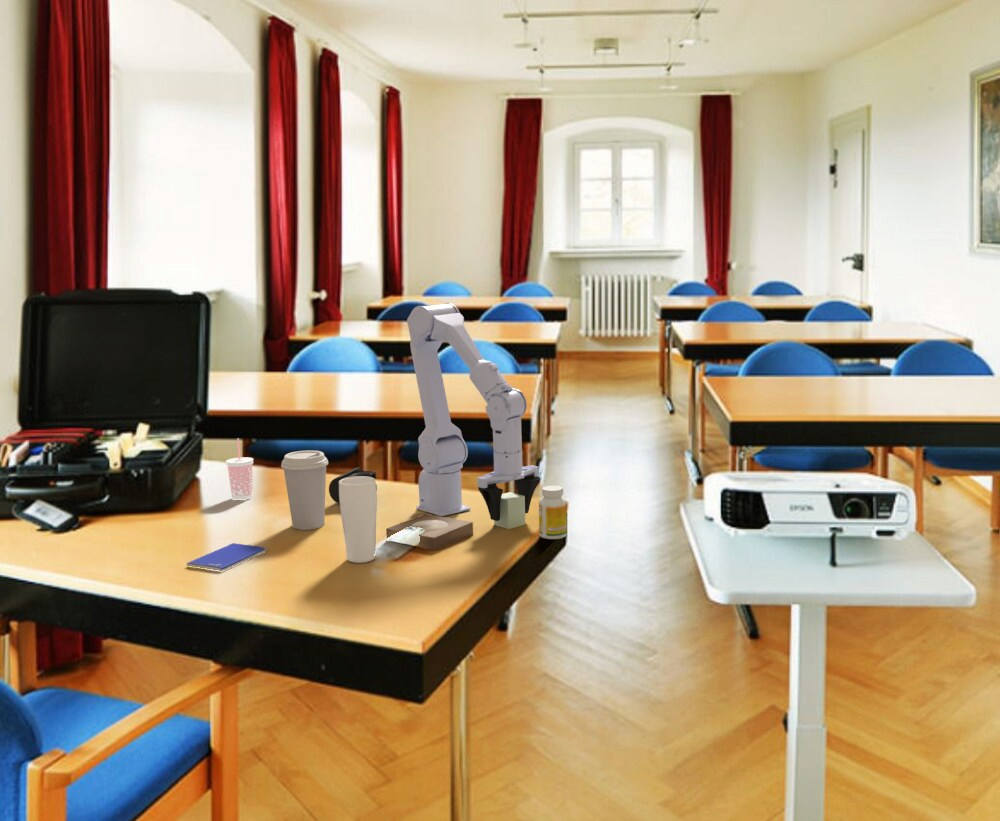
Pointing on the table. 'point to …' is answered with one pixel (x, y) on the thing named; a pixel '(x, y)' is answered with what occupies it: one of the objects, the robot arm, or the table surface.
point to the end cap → (355, 472)
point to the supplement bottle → (552, 513)
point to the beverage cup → (240, 476)
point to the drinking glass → (359, 517)
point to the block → (511, 510)
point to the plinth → (436, 530)
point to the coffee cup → (306, 488)
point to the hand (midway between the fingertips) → (509, 516)
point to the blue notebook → (227, 557)
